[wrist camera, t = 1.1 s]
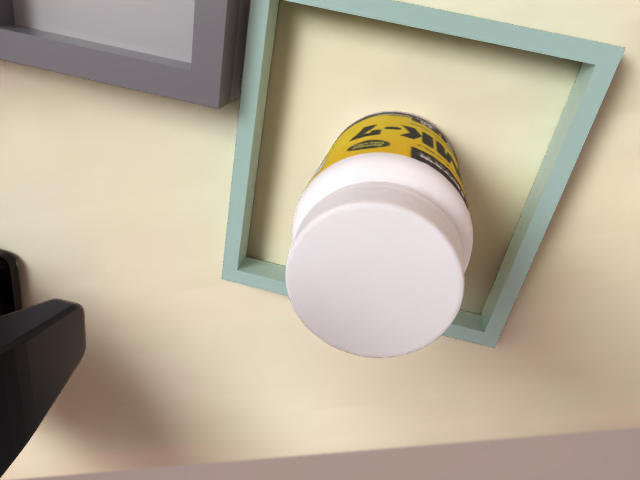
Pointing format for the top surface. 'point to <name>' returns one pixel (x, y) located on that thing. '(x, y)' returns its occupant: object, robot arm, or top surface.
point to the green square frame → (381, 6)
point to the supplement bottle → (381, 238)
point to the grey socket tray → (134, 43)
